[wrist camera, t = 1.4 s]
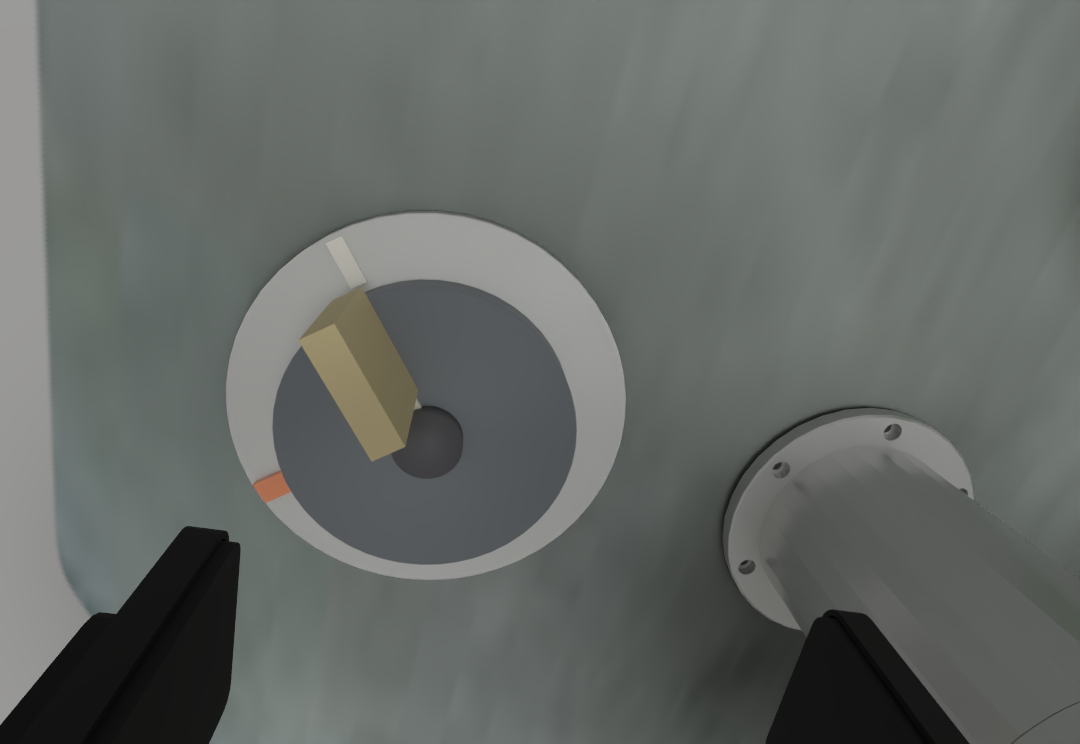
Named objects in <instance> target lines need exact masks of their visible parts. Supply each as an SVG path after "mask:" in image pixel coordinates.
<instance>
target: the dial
mask: <svg viewBox="0 0 1080 744" xmlns="http://www.w3.org/2000/svg"><path fill="white" fill-rule="evenodd" d="M298 341H299V342H300V344H301V347H300V348H299V350H298V351H297V352H296V354H295V355H294V356H293V358H292V360H291V361H290V363H289V365H288V367H287V369H286V370H285V372H284V374H283V377H282V380H281V382H280V385H279V388H278V390H277V394H276V399H275V404H274V409H273V425H272V430H273V440H274V448H275V452H276V456H277V460H278V464H279V467H280V469H281V472H282V474H283V477H284V479H285V481H286V483H287V485H288V487H289V488H290V490H291V492H292V494H293V495H294V497H295V498H296V500H297V501H298V502H299V504H300V505H301V506H302V508H303V509H304V510H305V511H306V512H307V513H308V515H309V516H310V517H311V518H312V519H313V520H314V521H315V522H316V523H317V524H318V525H320V526H321V527H322V528H324V529H325V530H326V531H327V532H329V533H330V534H331V535H332V536H334V537H336V538H337V539H339V540H340V541H342V542H344V543H345V544H347V545H349V546H351V547H353V548H355V549H357V550H360V551H362V552H364V553H366V554H369V555H372V556H375V557H378V558H381V559H385V560H390V561H395V562H399V563H407V564H417V565H439V564H447V563H455V562H460V561H464V560H468V559H473V558H476V557H479V556H482V555H484V554H487V553H490V552H492V551H494V550H496V549H498V548H500V547H502V546H505V545H507V544H508V543H510V542H511V541H513V540H514V539H516V538H518V537H519V536H521V535H522V534H523V533H525V532H526V531H527V530H528V529H529V528H531V527H532V526H533V525H534V524H535V523H536V522H537V521H538V520H539V519H540V518H541V517H542V516H543V515H544V514H545V513H546V512H547V511H548V509H549V508H550V506H551V505H552V504H553V502H554V501H555V499H556V498H557V497H558V495H559V493H560V491H561V489H562V487H563V485H564V484H565V482H566V479H567V477H568V474H569V471H570V469H571V466H572V462H573V457H574V453H575V448H576V435H577V425H576V412H575V407H574V403H573V398H572V394H571V391H570V388H569V385H568V383H567V380H566V377H565V374H564V372H563V369H562V366H561V364H560V361H559V359H558V357H557V355H556V354H555V352H554V350H553V348H552V346H551V345H550V343H549V342H548V341H547V339H546V338H545V337H544V335H543V334H542V332H541V331H540V330H539V329H538V328H537V327H536V326H535V325H534V324H533V323H532V322H531V321H530V320H529V319H528V318H527V317H526V316H525V315H523V314H522V313H521V312H520V311H518V310H517V309H516V308H515V307H513V306H512V305H510V304H508V303H507V302H505V301H503V300H502V299H500V298H498V297H497V296H495V295H492V294H490V293H488V292H485V291H483V290H481V289H478V288H475V287H471V286H468V285H464V284H461V283H456V282H449V281H443V280H410V281H400V282H396V283H392V284H388V285H383V286H380V287H377V288H374V289H372V290H369V291H367V292H364V290H363V288H362V287H360V288H358V289H355V290H353V291H351V292H349V293H347V294H345V295H342V296H340V297H338V298H336V299H334V300H332V301H331V302H330V303H329V305H328V306H327V307H326V308H325V309H324V311H323V312H322V313H321V314H320V315H319V316H318V318H317V319H316V320H315V321H314V322H313V323H312V325H311V326H310V327H309V328H308V329H307V330H306V332H305V333H304V334H303V335H302V336H301V338H300V339H299V340H298Z"/></svg>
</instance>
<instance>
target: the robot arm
mask: <svg viewBox="0 0 1080 744" xmlns="http://www.w3.org/2000/svg"><path fill="white" fill-rule="evenodd" d="M722 539H723V548H724V557H725V560H726V563H727V566H728V569H729V571H730V574H731V576H732V578H733V580H734V581H735V583H736V585H737V587H738V588H739V590H740V592H741V594H742V595H743V596H744V597H745V598H746V600H747V601H748V602H749V603H750V604H751V606H752V607H753V608H754V609H756V610H757V611H758V612H760V613H761V614H762V615H764V616H765V617H766V618H768V619H769V620H772V621H774V622H776V623H778V624H780V625H782V626H784V627H787V628H791V629H795V630H799V631H802V632H803V633H804V635H805V636H806V638H807V639H806V641H805V644H804V646H803V649H802V651H801V654H800V656H799V659H798V661H797V664H796V666H795V669H794V671H793V674H792V676H791V679H790V681H789V684H788V686H787V689H786V691H785V694H784V696H783V699H782V701H781V704H780V706H779V709H778V711H777V714H776V716H775V719H774V721H773V724H772V726H771V729H770V731H769V734H768V736H767V739H766V744H1080V580H1079V579H1078V578H1077V577H1075V576H1074V575H1073V574H1071V573H1070V572H1069V571H1067V570H1066V569H1065V568H1063V567H1062V566H1061V565H1059V564H1058V563H1057V562H1055V561H1054V560H1053V559H1051V558H1050V557H1049V556H1047V555H1046V554H1045V553H1043V552H1042V551H1041V550H1039V549H1038V548H1037V547H1035V546H1034V545H1033V544H1031V543H1030V542H1029V541H1027V540H1026V539H1025V538H1023V537H1022V536H1021V535H1019V534H1018V533H1017V532H1015V531H1014V530H1013V529H1011V528H1010V527H1009V526H1007V525H1006V524H1005V523H1003V522H1002V521H1001V520H999V519H998V518H997V517H995V516H994V515H993V514H991V513H990V512H989V511H987V510H986V509H985V508H983V507H982V506H981V505H979V504H978V503H977V502H975V501H974V491H973V485H972V480H971V475H970V473H969V470H968V468H967V466H966V463H965V461H964V459H963V457H962V456H961V454H960V453H959V452H958V451H957V449H956V448H955V447H954V445H953V444H952V443H951V442H950V441H949V440H948V439H946V438H945V437H944V436H943V435H941V434H940V433H939V432H937V431H936V430H935V429H933V428H932V427H930V426H928V425H927V424H925V423H923V422H922V421H920V420H918V419H917V418H915V417H912V416H909V415H906V414H903V413H900V412H897V411H894V410H886V409H877V408H860V409H847V410H843V411H839V412H835V413H831V414H827V415H823V416H820V417H818V418H815V419H813V420H811V421H809V422H806V423H804V424H802V425H799V426H798V427H796V428H794V429H793V430H791V431H790V432H788V433H787V434H785V435H783V436H782V437H780V438H779V439H777V440H776V441H775V442H774V443H773V444H772V445H770V446H769V447H768V448H767V449H766V450H765V451H764V452H763V453H761V454H760V455H759V456H758V457H757V458H756V460H755V461H754V462H753V463H752V465H751V466H750V467H749V468H748V470H747V471H746V472H745V473H744V475H743V476H742V478H741V480H740V482H739V483H738V485H737V487H736V489H735V491H734V492H733V494H732V496H731V499H730V502H729V505H728V508H727V511H726V514H725V519H724V528H723V536H722ZM239 563H240V544H239V543H236V542H229V536H228V532H227V531H223V530H215V529H207V528H199V527H192V526H187V527H184V528H183V529H182V530H181V532H180V533H179V534H178V535H177V537H176V538H175V539H174V541H173V542H172V543H171V544H170V546H169V547H168V548H167V550H166V551H165V552H164V553H163V555H162V556H161V557H160V559H159V560H158V561H157V562H156V564H155V565H154V566H153V568H152V569H151V570H150V572H149V573H148V574H147V575H146V577H145V578H144V579H143V581H142V582H141V583H140V584H139V586H138V587H137V588H136V590H135V591H134V592H133V593H132V595H131V596H130V597H129V599H128V600H127V601H126V602H125V604H124V605H123V606H122V608H121V609H120V610H119V611H118V613H117V614H110V613H101V612H100V613H97V614H95V615H93V616H92V617H91V618H90V619H89V620H88V621H87V622H86V623H85V624H84V625H83V626H82V627H81V628H80V630H79V631H78V632H77V633H76V635H75V636H74V637H73V638H72V639H71V640H70V642H69V643H68V644H67V645H66V646H65V648H64V649H63V650H62V651H61V653H60V654H59V655H58V656H57V657H56V659H55V660H54V661H53V662H52V663H51V665H50V666H49V667H48V668H47V669H46V671H45V672H44V673H43V674H42V676H41V677H40V678H39V679H38V680H37V682H36V683H35V684H34V685H33V686H32V688H31V689H30V690H29V691H28V693H27V694H26V695H25V696H24V697H23V698H22V700H21V701H20V702H19V703H18V705H17V706H16V707H15V708H14V709H13V711H12V712H11V713H10V714H9V715H8V717H7V718H6V719H5V720H4V721H3V723H2V724H1V725H0V744H209V742H210V740H211V738H212V736H213V733H214V731H215V729H216V727H217V725H218V723H219V720H220V718H221V716H222V714H223V711H224V709H225V706H226V703H227V700H228V696H229V691H230V685H231V673H232V660H233V646H234V632H235V618H236V605H237V591H238V577H239Z"/></svg>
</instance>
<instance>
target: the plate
mask: <svg viewBox="0 0 1080 744" xmlns="http://www.w3.org/2000/svg"><path fill="white" fill-rule="evenodd" d="M410 280H443V281H449V282H456V283H461V284H464V285H468V286H471V287H475V288H478V289H481V290H483V291H485V292H488V293H490V294H492V295H495V296H497V297H498V298H500V299H502V300H503V301H505V302H507V303H508V304H510V305H512V306H513V307H515V308H516V309H517V310H518V311H520V312H521V313H522V314H523V315H525V316H526V317H527V318H528V319H529V320H530V321H531V322H532V323H533V324H534V325H535V326H536V327H537V328H538V329H539V330H540V331H541V332H542V334H543V335H544V337H545V338H546V339H547V341H548V342H549V343H550V345H551V346H552V348H553V350H554V352H555V354H556V355H557V357H558V359H559V361H560V364H561V366H562V369H563V372H564V374H565V377H566V380H567V383H568V385H569V388H570V391H571V394H572V398H573V403H574V407H575V412H576V425H577V435H576V448H575V453H574V457H573V462H572V466H571V469H570V471H569V474H568V477H567V479H566V482H565V484H564V485H563V487H562V489H561V491H560V493H559V495H558V497H557V498H556V499H555V501H554V502H553V504H552V505H551V506H550V508H549V509H548V511H547V512H546V513H545V514H544V515H543V516H542V517H541V518H540V519H539V520H538V521H537V522H536V523H535V524H534V525H533V526H532V527H531V528H529V529H528V530H527V531H526V532H525V533H523V534H522V535H521V536H519V537H518V538H516V539H514V540H513V541H511V542H510V543H508V544H507V545H505V546H502V547H500V548H498V549H496V550H494V551H492V552H490V553H487V554H484V555H482V556H479V557H476V558H473V559H468V560H464V561H460V562H455V563H447V564H439V565H417V564H407V563H399V562H395V561H390V560H385V559H381V558H378V557H375V556H372V555H369V554H366V553H364V552H362V551H360V550H357V549H355V548H353V547H351V546H349V545H347V544H345V543H344V542H342V541H340V540H339V539H337V538H336V537H334V536H332V535H331V534H330V533H329V532H327V531H326V530H325V529H324V528H322V527H321V526H320V525H318V524H317V523H316V522H315V521H314V520H313V519H312V518H311V517H310V516H309V515H308V513H307V512H306V511H305V510H304V509H303V508H302V506H301V505H300V504H299V502H298V501H297V500H296V498H295V497H294V495H293V494H292V492H291V490H290V488H289V487H288V485H287V483H286V481H285V479H284V477H283V474H282V472H281V469H280V467H279V464H278V460H277V456H276V452H275V448H274V440H273V430H272V425H273V409H274V404H275V399H276V394H277V390H278V388H279V385H280V382H281V380H282V377H283V374H284V372H285V370H286V369H287V367H288V365H289V363H290V361H291V360H292V358H293V356H294V355H295V354H296V352H297V351H298V350H299V348H300V347H301V344H300V342H299V341H298V340H299V339H300V338H301V336H302V335H303V334H304V333H305V332H306V330H307V329H308V328H309V327H310V326H311V325H312V323H313V322H314V321H315V320H316V319H317V318H318V316H319V315H320V314H321V313H322V312H323V311H324V309H325V308H326V307H327V306H328V305H329V303H330V302H331V301H332V300H334V299H336V298H338V297H340V296H342V295H345V294H347V293H349V292H351V291H353V290H355V289H358V288H360V287H362V288H363V290H364V292H367V291H369V290H372V289H374V288H377V287H380V286H383V285H388V284H392V283H396V282H400V281H410ZM625 407H626V392H625V381H624V372H623V368H622V364H621V360H620V355H619V351H618V348H617V346H616V343H615V341H614V338H613V336H612V333H611V330H610V328H609V326H608V324H607V322H606V321H605V319H604V317H603V315H602V313H601V312H600V310H599V308H598V306H597V305H596V303H595V302H594V300H593V299H592V297H591V296H590V295H589V293H588V292H587V291H586V289H585V288H584V287H583V285H582V284H581V283H580V281H579V280H578V279H577V277H576V276H575V275H574V274H573V273H572V272H571V271H570V270H569V269H568V268H567V267H566V266H565V265H564V264H563V263H562V262H561V261H560V260H559V259H557V258H556V257H555V256H553V255H552V254H551V253H549V252H548V251H547V250H545V249H544V248H543V247H542V246H540V245H539V244H538V243H536V242H534V241H532V240H531V239H529V238H527V237H525V236H523V235H522V234H520V233H518V232H516V231H515V230H512V229H510V228H507V227H505V226H502V225H500V224H497V223H495V222H492V221H490V220H486V219H482V218H478V217H475V216H471V215H467V214H462V213H454V212H446V211H438V210H416V211H403V212H396V213H389V214H382V215H378V216H375V217H371V218H368V219H364V220H361V221H357V222H355V223H352V224H350V225H348V226H345V227H343V228H341V229H339V230H336V231H334V232H332V233H330V234H329V235H327V236H325V237H324V238H322V239H320V240H319V241H317V242H316V243H314V244H312V245H311V246H309V247H308V248H306V249H305V250H303V251H302V252H300V253H299V254H298V255H297V256H296V257H294V258H293V259H292V260H291V261H290V262H288V263H287V264H286V265H285V266H284V267H282V268H281V269H280V270H279V271H278V272H277V273H276V274H275V275H274V277H273V278H272V279H271V280H270V281H269V282H268V283H267V284H266V286H265V287H264V288H263V289H262V290H261V291H260V293H259V295H258V296H257V298H256V299H255V301H254V302H253V304H252V305H251V307H250V308H249V310H248V311H247V313H246V315H245V317H244V320H243V322H242V324H241V326H240V328H239V331H238V333H237V335H236V338H235V341H234V345H233V348H232V352H231V355H230V359H229V365H228V373H227V381H226V408H227V415H228V421H229V427H230V433H231V437H232V440H233V443H234V446H235V449H236V452H237V455H238V458H239V460H240V462H241V464H242V466H243V468H244V470H245V472H246V475H247V477H248V479H249V480H250V482H251V483H252V485H253V486H254V488H255V489H256V491H257V492H258V494H259V495H260V497H261V498H262V500H263V501H264V502H265V503H266V504H267V506H268V507H269V508H270V509H271V510H272V511H273V513H274V514H275V515H276V516H277V517H278V518H279V519H280V520H281V521H282V522H283V523H284V524H285V525H287V526H288V527H289V528H290V529H291V530H292V531H293V532H294V533H295V534H297V535H298V536H300V537H301V538H302V539H304V540H305V541H307V542H308V543H309V544H311V545H312V546H314V547H315V548H317V549H319V550H321V551H322V552H324V553H326V554H328V555H330V556H332V557H333V558H335V559H337V560H340V561H342V562H345V563H347V564H350V565H352V566H354V567H357V568H360V569H363V570H367V571H370V572H374V573H377V574H381V575H386V576H392V577H398V578H404V579H419V580H440V579H455V578H461V577H467V576H473V575H478V574H482V573H485V572H489V571H493V570H496V569H499V568H502V567H504V566H507V565H509V564H512V563H514V562H517V561H519V560H521V559H523V558H525V557H527V556H529V555H531V554H532V553H534V552H536V551H538V550H540V549H541V548H543V547H544V546H546V545H547V544H548V543H550V542H551V541H553V540H554V539H556V538H557V537H558V536H560V535H561V534H562V533H563V532H564V531H565V530H566V529H567V528H569V527H570V526H571V525H572V524H573V523H574V522H575V521H576V520H577V519H578V518H579V517H580V516H581V514H582V513H583V512H584V511H585V510H586V509H587V507H588V506H589V505H590V504H591V503H592V501H593V500H594V498H595V497H596V495H597V494H598V492H599V491H600V489H601V488H602V486H603V485H604V483H605V480H606V478H607V476H608V474H609V472H610V470H611V468H612V466H613V464H614V461H615V458H616V455H617V452H618V449H619V446H620V443H621V438H622V433H623V427H624V422H625Z"/></svg>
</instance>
